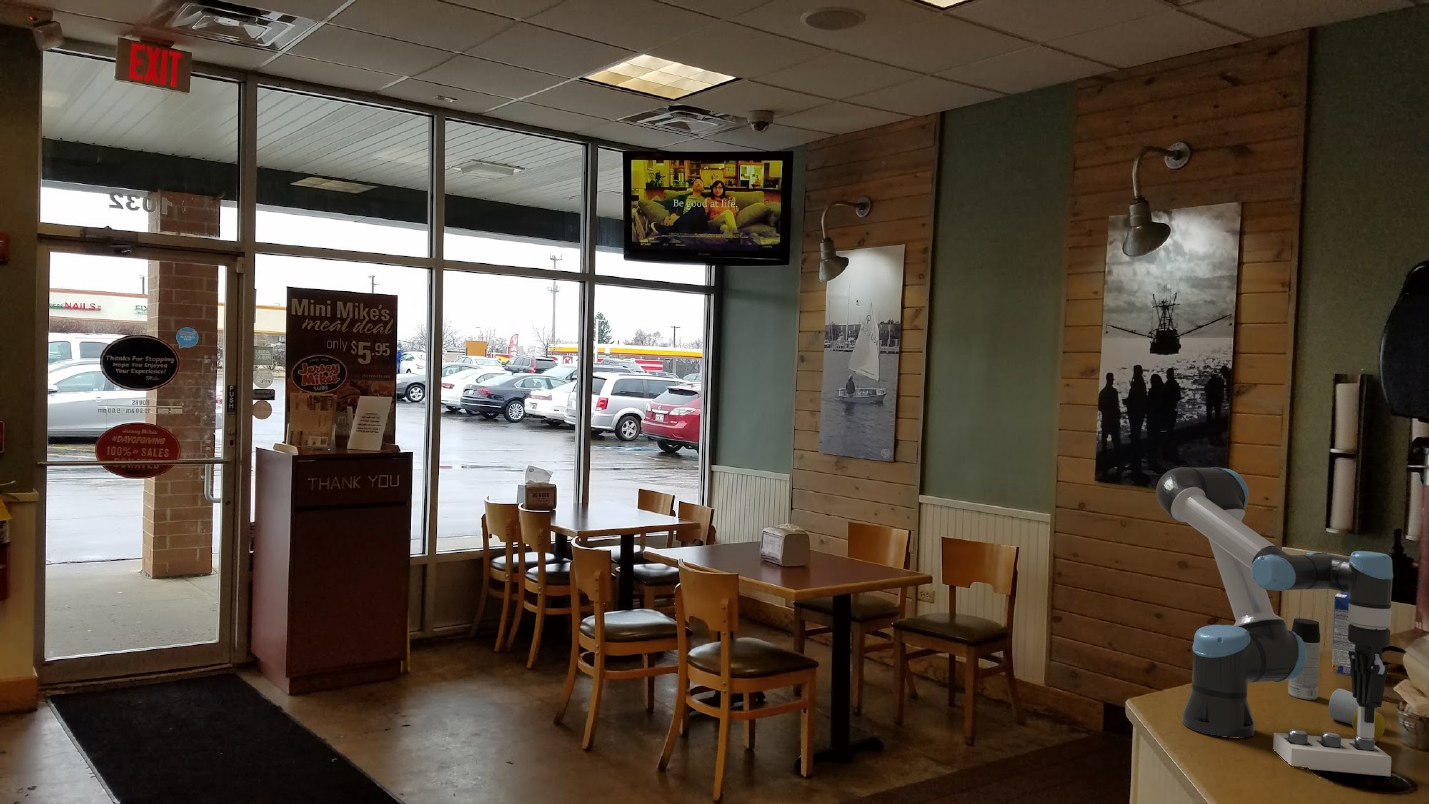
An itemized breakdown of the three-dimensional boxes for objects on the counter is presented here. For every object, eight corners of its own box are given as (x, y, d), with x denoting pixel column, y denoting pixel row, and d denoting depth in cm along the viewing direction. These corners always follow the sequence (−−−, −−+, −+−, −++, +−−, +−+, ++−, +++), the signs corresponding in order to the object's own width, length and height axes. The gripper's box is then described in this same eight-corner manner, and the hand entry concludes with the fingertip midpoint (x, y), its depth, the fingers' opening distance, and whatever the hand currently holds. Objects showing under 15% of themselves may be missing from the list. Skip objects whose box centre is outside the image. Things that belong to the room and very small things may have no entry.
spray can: (1318, 695, 262) (1321, 620, 262) (1317, 702, 256) (1320, 625, 256) (1288, 691, 266) (1291, 616, 265) (1287, 697, 260) (1290, 621, 260)
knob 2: (1358, 758, 210) (1359, 739, 210) (1350, 752, 213) (1351, 733, 213) (1377, 760, 209) (1378, 740, 209) (1369, 754, 213) (1369, 734, 213)
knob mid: (1324, 755, 211) (1325, 735, 211) (1317, 749, 214) (1318, 730, 214) (1343, 756, 210) (1344, 737, 210) (1336, 750, 214) (1336, 731, 214)
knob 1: (1291, 752, 212) (1292, 732, 212) (1285, 746, 216) (1285, 727, 216) (1309, 753, 211) (1310, 734, 211) (1303, 747, 215) (1303, 728, 215)
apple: (1348, 734, 232) (1349, 700, 231) (1380, 739, 229) (1382, 704, 229) (1354, 743, 226) (1355, 708, 226) (1387, 748, 223) (1389, 712, 223)
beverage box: (1331, 672, 286) (1334, 596, 286) (1337, 664, 295) (1340, 591, 294) (1359, 677, 282) (1362, 600, 282) (1364, 669, 290) (1367, 594, 290)
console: (1291, 767, 209) (1291, 748, 209) (1273, 750, 219) (1273, 732, 219) (1390, 776, 206) (1391, 757, 206) (1367, 759, 216) (1368, 740, 216)
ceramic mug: (1363, 731, 234) (1365, 699, 234) (1326, 721, 241) (1328, 689, 241) (1385, 726, 239) (1387, 694, 239) (1349, 715, 246) (1351, 685, 246)
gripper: (1404, 633, 204) (1400, 748, 204) (1374, 620, 217) (1370, 728, 217) (1364, 631, 205) (1360, 745, 205) (1336, 617, 218) (1332, 724, 218)
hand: (1365, 736), depth 211 cm, fingers closed
